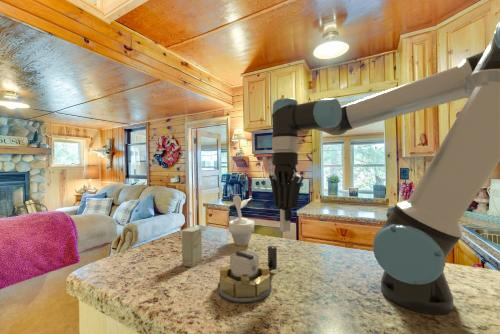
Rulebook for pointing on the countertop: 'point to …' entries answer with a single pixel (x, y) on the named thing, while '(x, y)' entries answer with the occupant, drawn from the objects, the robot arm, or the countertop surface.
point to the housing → (244, 266)
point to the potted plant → (241, 224)
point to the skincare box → (191, 246)
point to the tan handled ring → (246, 286)
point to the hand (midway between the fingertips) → (285, 230)
